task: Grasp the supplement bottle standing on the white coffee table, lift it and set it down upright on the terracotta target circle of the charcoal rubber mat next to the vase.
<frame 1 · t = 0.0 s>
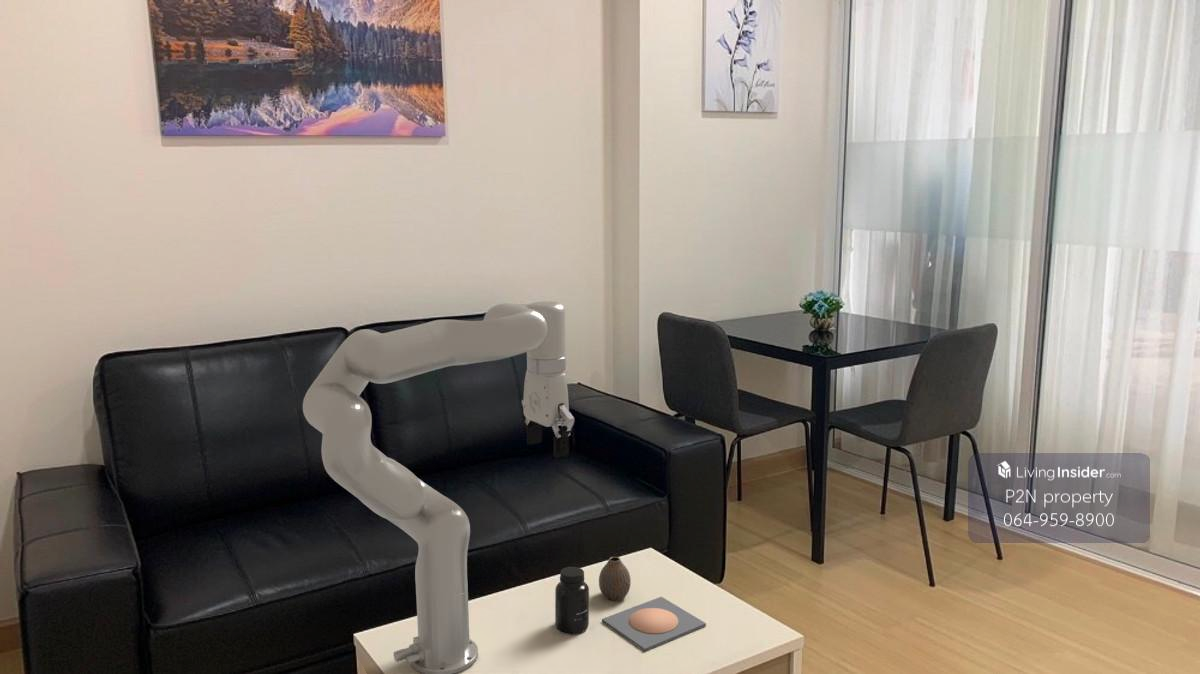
hand: (547, 449, 170), 37 cm above the table, tool pointing down, fingers open, 9 cm apart
vase: (614, 597, 186), on the table
supplement bottle: (572, 627, 174), on the table
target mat: (653, 623, 175), on the table
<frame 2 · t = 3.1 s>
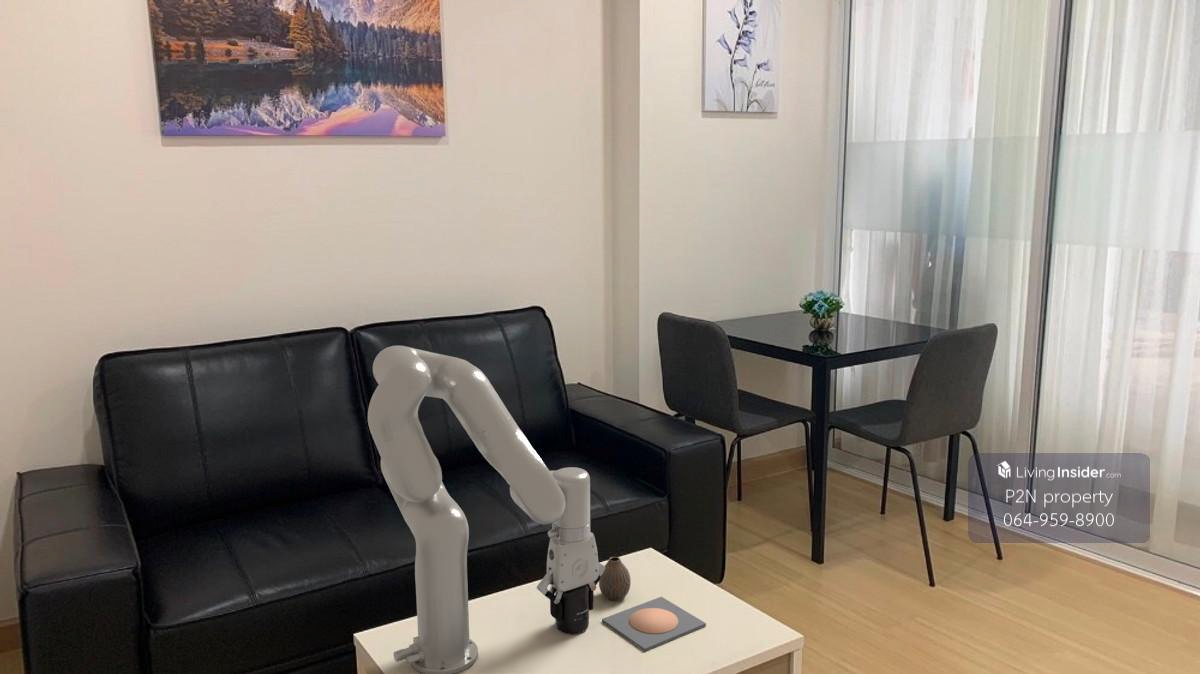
hand: (572, 612, 173), 3 cm above the table, tool pointing down, fingers closed on supplement bottle, 6 cm apart
supplement bottle: (572, 627, 174), on the table, touching gripper
everything else where it was.
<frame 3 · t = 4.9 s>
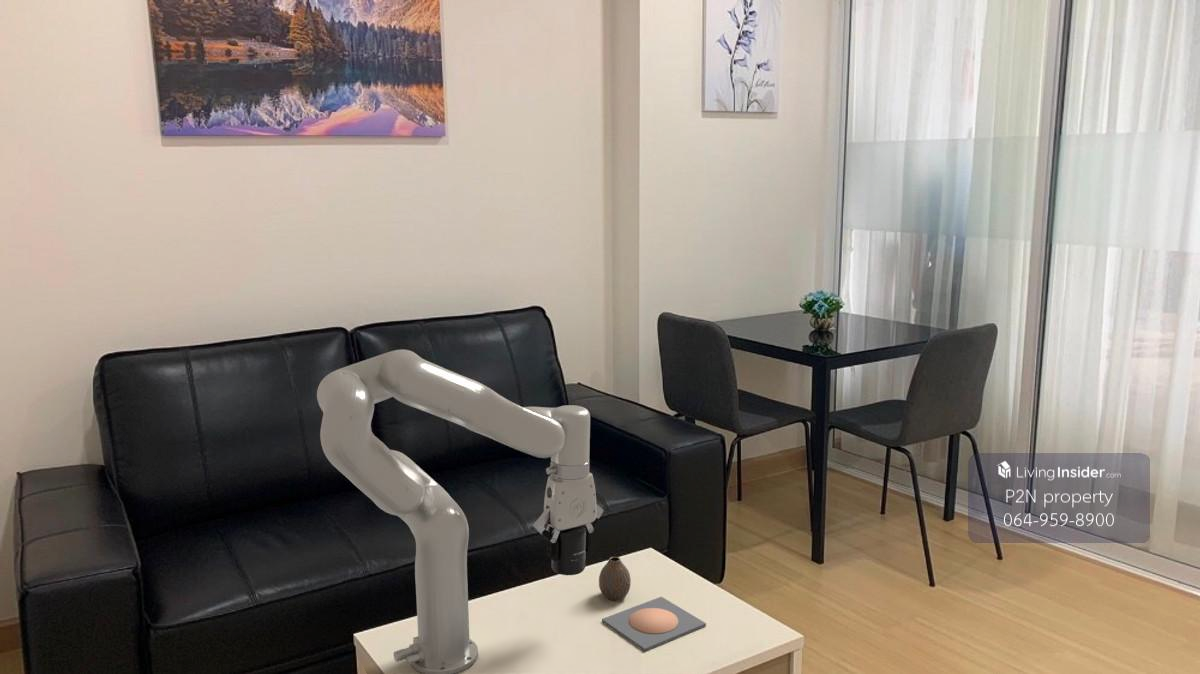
hand: (568, 553, 170), 16 cm above the table, tool pointing down, fingers closed on supplement bottle, 6 cm apart
supplement bottle: (568, 569, 171), point 13 cm above the table, touching gripper
everything else where it was.
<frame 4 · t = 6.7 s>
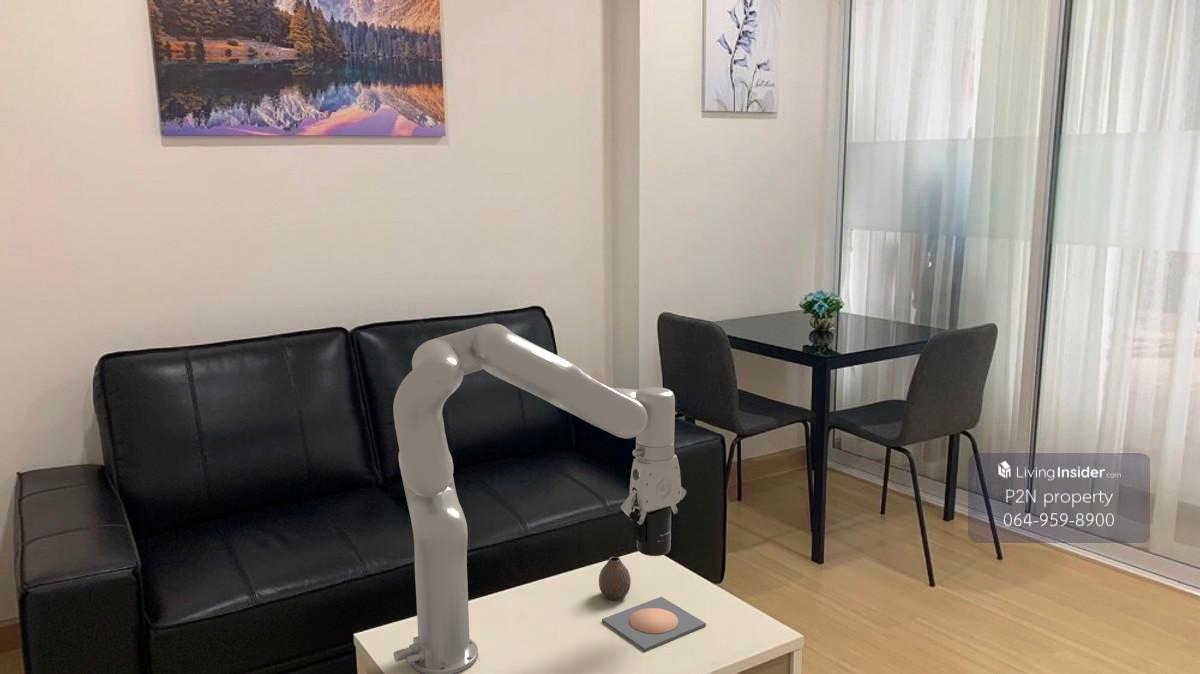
hand: (654, 535, 171), 19 cm above the table, tool pointing down, fingers closed on supplement bottle, 6 cm apart
supplement bottle: (653, 550, 172), point 16 cm above the table, touching gripper
everything else where it was.
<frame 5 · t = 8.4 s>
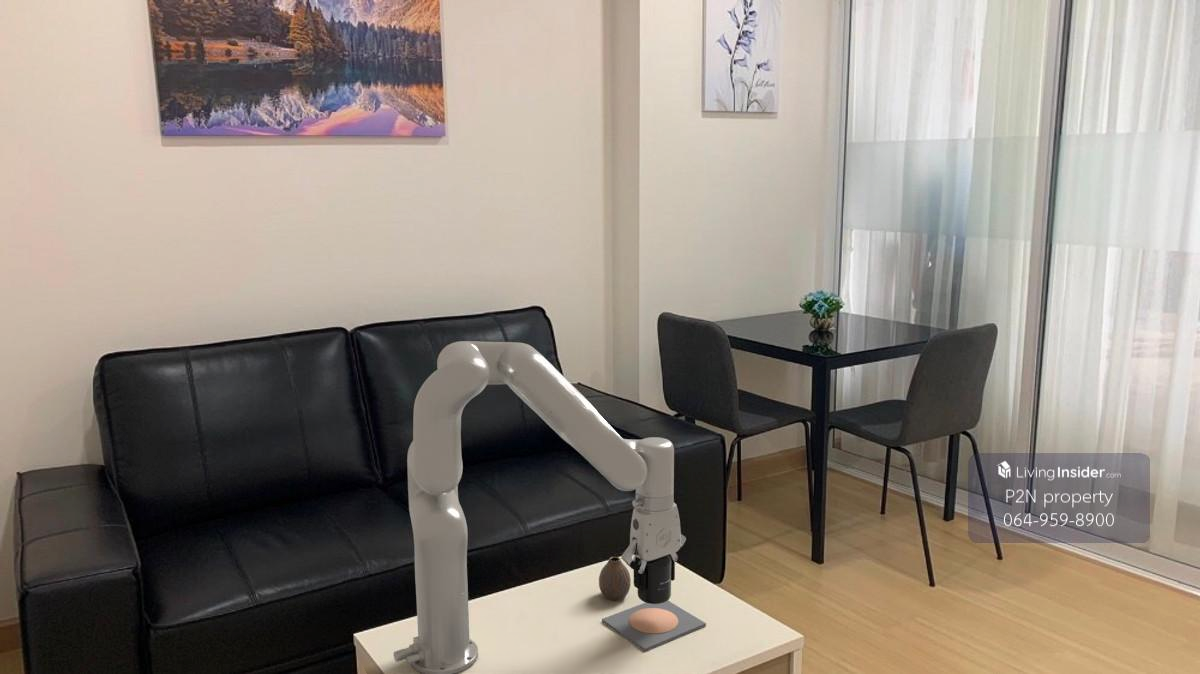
hand: (654, 582, 173), 9 cm above the table, tool pointing down, fingers closed on supplement bottle, 6 cm apart
supplement bottle: (654, 597, 174), point 6 cm above the table, touching gripper
everything else where it was.
when the fingers open (5 cm above the table, at t = 10.2 s): supplement bottle drops 1 cm, resting on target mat.
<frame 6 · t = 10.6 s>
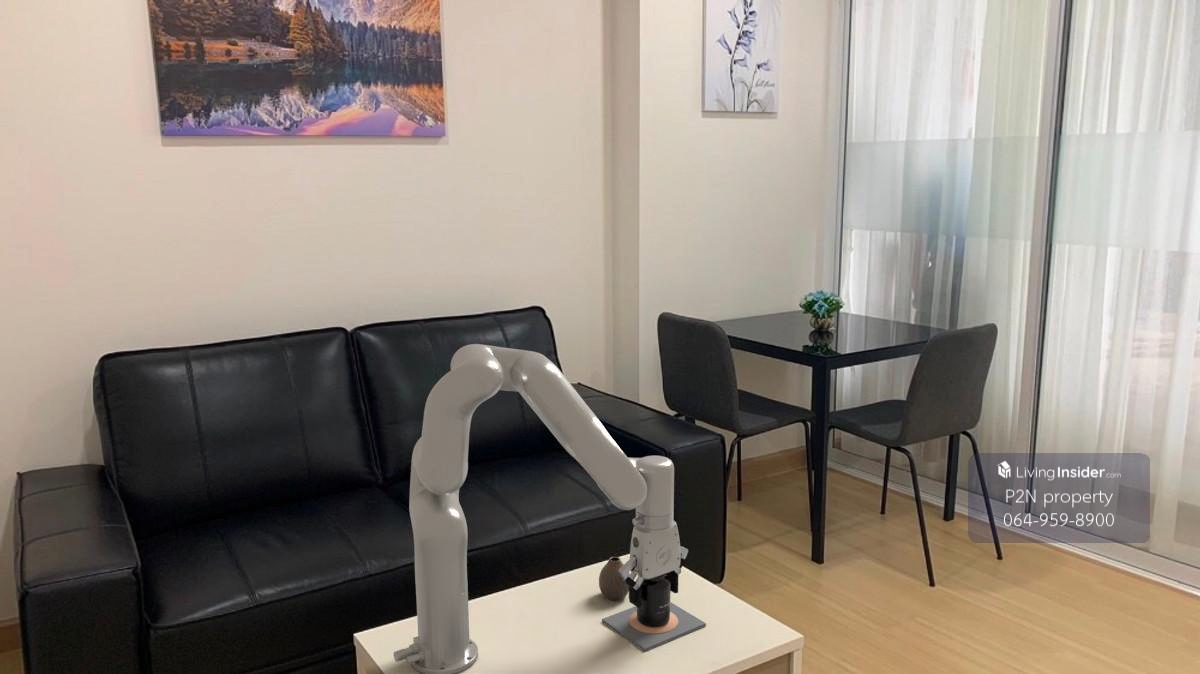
hand: (653, 597, 174), 6 cm above the table, tool pointing down, fingers open, 9 cm apart
supplement bottle: (653, 620, 175), point 1 cm above the table, touching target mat
everything else where it was.
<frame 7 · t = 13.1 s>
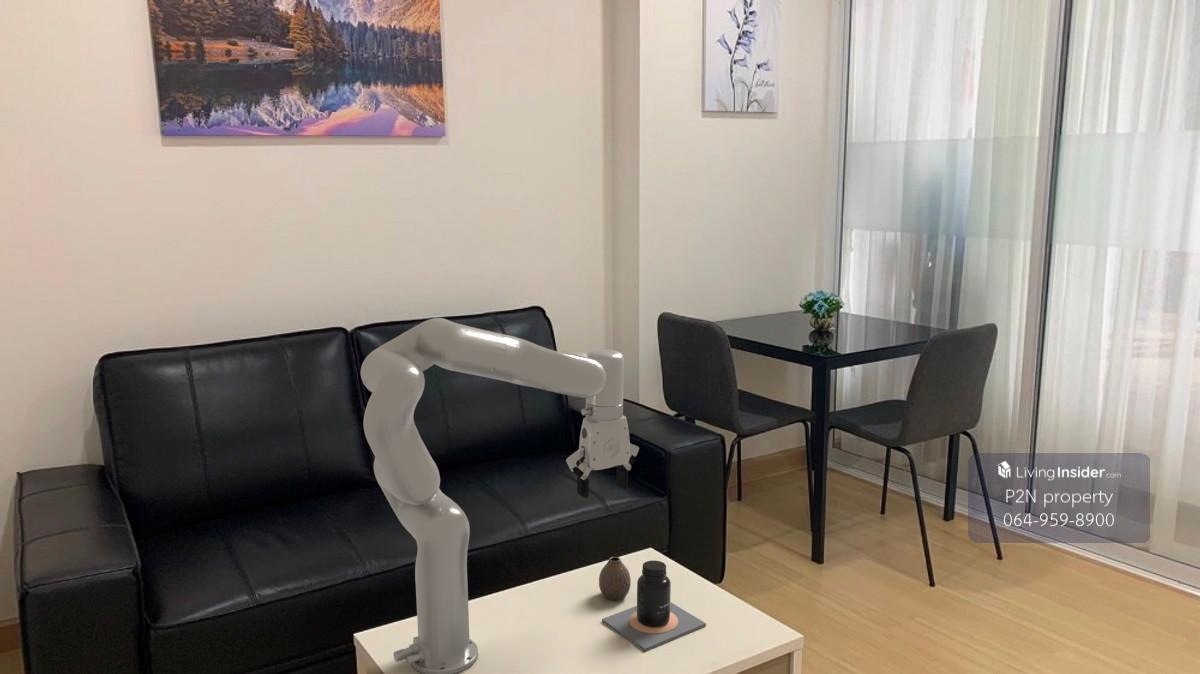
hand: (602, 491, 176), 26 cm above the table, tool pointing down, fingers open, 9 cm apart
nothing on the table moved.
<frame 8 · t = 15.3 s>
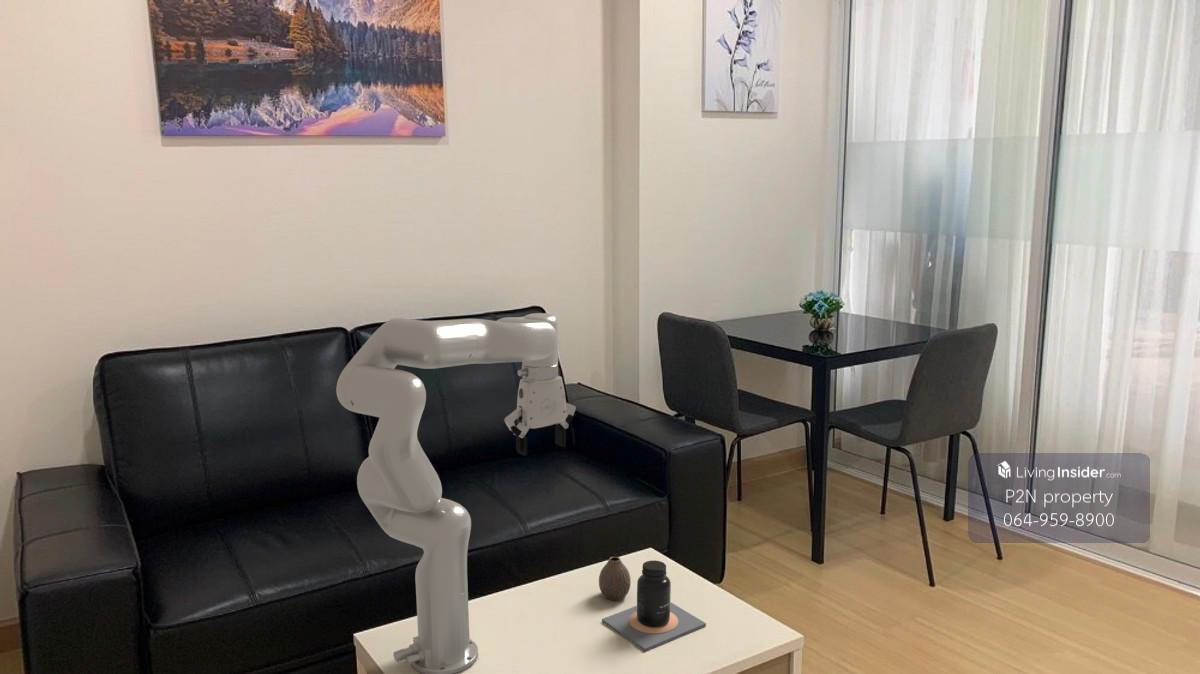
hand: (541, 449, 183), 32 cm above the table, tool pointing down, fingers open, 9 cm apart
nothing on the table moved.
at the end: supplement bottle inside the target area on the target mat (0.1 cm from its centre), point 0.6 cm above the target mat's base; supplement bottle tilted 0°; the gripper is holding nothing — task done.
